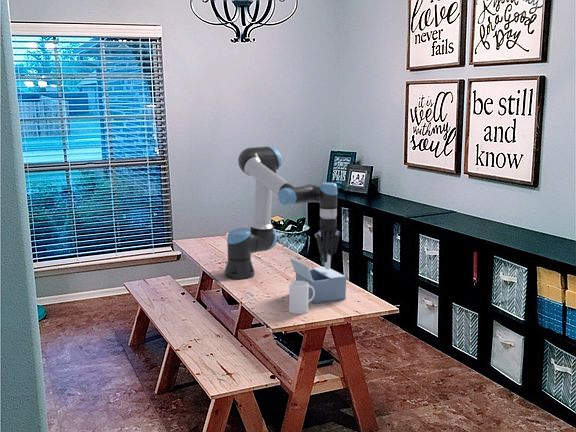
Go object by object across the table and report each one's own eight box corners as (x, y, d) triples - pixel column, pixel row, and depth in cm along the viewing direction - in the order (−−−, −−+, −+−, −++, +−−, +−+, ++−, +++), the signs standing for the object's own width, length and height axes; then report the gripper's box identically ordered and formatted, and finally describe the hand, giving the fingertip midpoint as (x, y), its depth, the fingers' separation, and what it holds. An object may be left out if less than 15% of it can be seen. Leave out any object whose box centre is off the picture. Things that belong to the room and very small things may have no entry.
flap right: (330, 279, 265) (330, 277, 265) (312, 269, 281) (312, 267, 281) (345, 277, 268) (345, 276, 268) (326, 267, 284) (326, 266, 284)
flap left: (313, 281, 262) (312, 282, 261) (295, 271, 277) (294, 271, 277) (308, 266, 259) (307, 267, 259) (291, 257, 275) (289, 257, 275)
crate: (313, 304, 263) (313, 282, 262) (295, 292, 279) (296, 271, 278) (345, 299, 270) (346, 277, 268) (326, 288, 286) (326, 267, 284)
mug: (311, 305, 262) (311, 278, 259) (319, 311, 254) (319, 284, 252) (285, 308, 257) (285, 281, 255) (293, 315, 250) (293, 287, 247)
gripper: (319, 220, 263) (318, 272, 268) (345, 217, 269) (344, 269, 273) (311, 217, 270) (310, 268, 275) (336, 214, 276) (336, 264, 280)
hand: (327, 268), depth 274 cm, fingers closed
